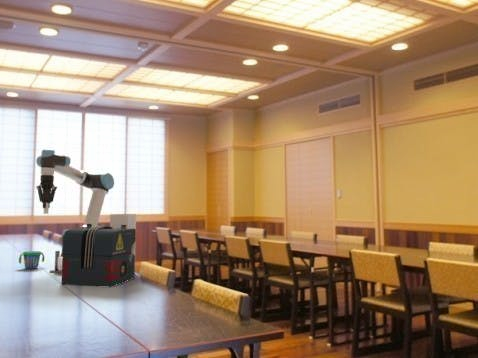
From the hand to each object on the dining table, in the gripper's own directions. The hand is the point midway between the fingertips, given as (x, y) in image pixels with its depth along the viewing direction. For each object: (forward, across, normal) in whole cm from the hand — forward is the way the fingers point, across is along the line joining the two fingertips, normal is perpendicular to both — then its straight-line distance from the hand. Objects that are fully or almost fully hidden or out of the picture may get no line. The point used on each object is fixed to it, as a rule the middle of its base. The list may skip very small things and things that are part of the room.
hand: (45, 213), depth 291 cm
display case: (+35, -22, +44) cm, 60 cm away
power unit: (+35, +5, +57) cm, 67 cm away
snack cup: (+35, -2, -16) cm, 38 cm away
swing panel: (+32, 0, +22) cm, 39 cm away
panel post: (+34, -2, +10) cm, 36 cm away
